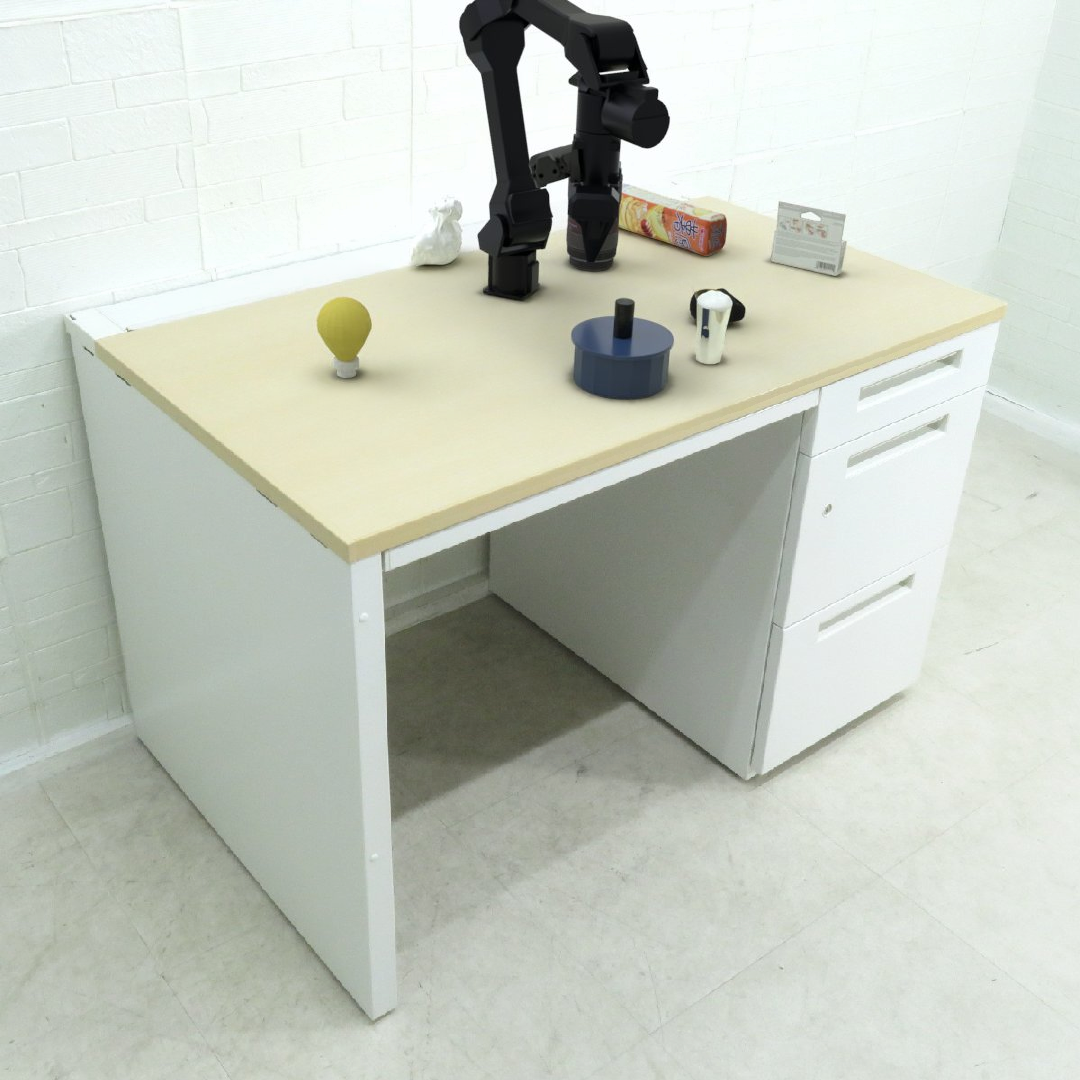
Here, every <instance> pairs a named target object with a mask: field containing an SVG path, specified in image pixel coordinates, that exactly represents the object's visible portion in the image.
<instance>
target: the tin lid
mask: <svg viewBox="0 0 1080 1080" xmlns="http://www.w3.org/2000/svg"><path fill="white" fill-rule="evenodd" d="M635 304H636V301H635V300H634V299H632V298H628V297H619V298H616V299H615V301H614V314H613V315H608V316H607V315H605V316H598V317H592V318H588V319H586V320H583V321H581V322H579V323H577V324H576V325H575V326H574V327H573V328H572V329H571V332H570V334H571V335H570V340H571V343H572V344H573V345H574V347H575V346H576V347H577V348H578V349H580V350H581V351H583V352H585V353H588V354H590V355H593V356H596V357H600V358H604V359H610V360H618V361H640V360H647V359H652V358H656V357H659V356H662V355H664V354H666V353H667V352H669V351H670V352H671V350H672V348H673V347H674V345H675V337H674V335H673V333H672V332H671V331H670V329H668V328H667V327H665V326H663V325H662V324H660V323H657V322H655V321H652V320H649V319H645V318H641V317H635V306H636V305H635Z"/></svg>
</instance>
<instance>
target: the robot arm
mask: <svg viewBox="0 0 1080 1080" xmlns="http://www.w3.org/2000/svg"><path fill="white" fill-rule="evenodd" d="M531 26H533V27H535V28H536V29H538V30H539V31H541V32H543V33H544V34H546V36H548V37H550V38H552V39H553V40H554V41H556V42H557V43H559V44H560V45H561V46H562V47H563V53H564V58H565V59H566V60H567V61H568V62H569V63H570V64H571V65H572V67H574V69H576V70H577V71H576V72H575V73H574V74H573V75H571V76H570V77H569V78H568V80H567V82H568V84H569V85H571V86H573V87H576V88H577V97H576V98H577V99H576V118H575V119H576V120H575V133H573V137H572V142H571V143H570V144H566V145H561V146H557V147H554V148H551V149H548V150H545V151H542V152H538V153H536V154H534V155H531V156H530V153H529V145H528V137H527V132H526V131H527V130H526V124H525V123H526V122H525V115H524V110H523V109H524V108H523V104H522V103H523V102H522V96H521V89H520V81H519V75H518V66H519V63H520V61H521V58H522V56H523V53H524V50H525V47H526V35H525V33H526V31H527V30H528V29H529V28H530V27H531ZM458 29H459V33H460V35H461V38H462V42H463V46H464V50H465V54H466V57H467V58H468V59H469V60H470V62H471V63H472V64H473V66H474V67H475V68H476V70H477V71H478V72H479V74H480V77H481V83H482V84H481V85H482V90H483V96H484V103H485V111H486V118H487V124H488V130H489V137H490V145H491V151H492V157H493V164H494V165H493V166H494V171H495V177H496V178H495V179H496V184H495V187H494V189H493V192H492V194H491V197H490V200H489V203H488V211H489V212H488V213H489V219H488V220H487V222H486V223H485V224H484V225H483V227H482V228H481V229H480V230H479V232H478V233H477V242H478V248H479V250H481V251H482V252H484V253H486V254H487V285H486V286H485V287H483V288H482V293H484V294H488V295H493V296H498V297H502V298H508V299H513V300H517V301H524V300H526V299H527V298H528V297H530V295H532V294H533V293H534V292H536V291H537V290H538V289H539V288H541V283H539V278H540V261H539V260H537V251H538V250H546V247H547V245H548V241H549V238H550V235H551V232H552V228H553V227H552V226H553V218H554V215H553V212H552V209H551V203H550V202H551V201H550V192H549V190H548V188H546V187H547V186H548V185H550V184H553V183H557V182H560V181H563V180H566V179H568V177H570V183H574V184H573V185H574V188H573V189H572V190H571V191H570V192H569V198H568V197H567V216H568V215H569V217H570V218H571V219H573V220H575V221H576V222H577V223H578V224H579V225H580V227H581V233H582V239H583V245H584V251H585V257H586V261H587V262H590V263H594V262H595V261H596V259H597V257H598V255H599V253H600V251H601V249H602V246H603V244H604V242H605V241H606V238H607V236H608V234H609V233H610V231H611V229H612V227H613V225H614V223H615V221H616V220H617V217H618V208H619V193H618V192H617V191H618V189H619V181H620V174H621V168H622V162H621V146H622V141H623V142H627V143H628V144H632V145H634V146H637V147H639V148H641V149H652V148H655V147H656V146H658V145H659V144H661V142H662V141H663V140H664V139H665V137H666V135H667V134H668V131H669V128H670V124H671V116H670V114H669V110H668V107H667V105H666V104H665V103H664V102H663V101H662V100H660V99H659V88H658V87H655V86H646V85H649V84H650V82H651V81H650V76H649V73H648V69H649V68H648V66H647V64H646V62H645V60H644V58H643V55H642V51H641V48H640V45H639V43H638V40H637V37H636V34H635V31H634V28H633V26H632V25H631V24H630V23H629V22H628V21H626V20H624V19H621V18H617V17H613V16H611V15H602V14H596V13H591V12H587V11H586V10H584V9H583V8H581V7H579V6H578V5H576V4H575V3H573V2H571V1H570V0H473V1H472V2H470V3H468V4H467V5H466V6H465V8H464V9H463V12H461V15H460V17H459V19H458ZM626 70H627V71H626ZM618 71H619V72H618Z"/></svg>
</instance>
